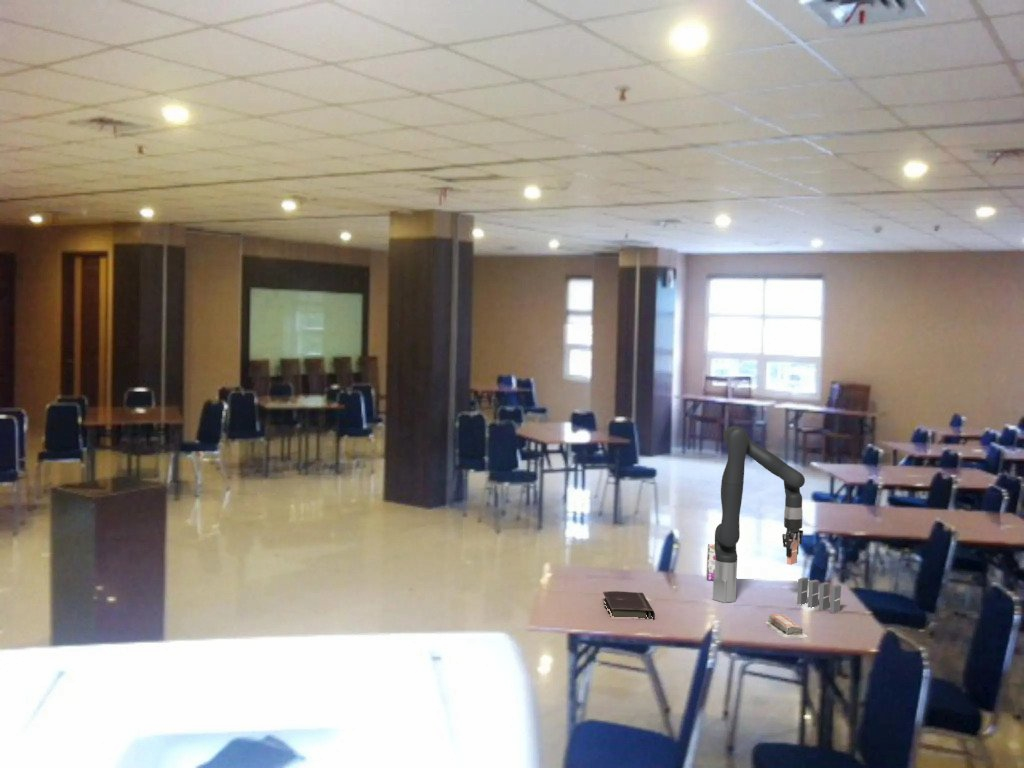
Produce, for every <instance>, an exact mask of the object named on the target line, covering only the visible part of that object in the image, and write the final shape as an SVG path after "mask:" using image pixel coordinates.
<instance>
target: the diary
mask: <svg viewBox="0 0 1024 768" xmlns="http://www.w3.org/2000/svg"><path fill="white" fill-rule="evenodd" d="M602 594H603V595H604V598H603V600H605V602H606V604H604V603H603V606H604V605H606V606H607V608H608V609H610V611H611V613H612V616H614V617H638V618H646V615H647V617H648V618H649V619H650V618H651V616H652V617H653V618H654V619H655V618H656V613H655V611H654V609H653V608H652V606H651V603H650V602H649V601H648V599H647V598H646V596H645V594H644V593H643V592H633V591H616V590H615V591H613V590H612V591H609V590H608V591H602ZM646 619H647V618H646Z"/></svg>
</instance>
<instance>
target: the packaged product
mask: <svg viewBox="0 0 1024 768" xmlns="http://www.w3.org/2000/svg"><path fill="white" fill-rule="evenodd" d="M765 624H766V625H767V626H766V625H765ZM764 625H765V626H766V627H768V628H769V627H770V628H771V629H772V630H773V631H772V630H771V629H770V628H769V629H770V630H771V631H772V632H774V631H775V632H776V633H778V634H779V635H780V636H782V637H783V638H797V639H806V638H805V637H808V635H807V634H805V632H803V630H804V629H803V627H801V626H800V625H799V624H797V623H796V622H795V621H793V620H792V619H790V618H789V617H788V616H787V615H785V614H782V613H780V614H779V613H773V614H770V615H769V616H768V621H766V620H765V621H764ZM775 632H774V633H775ZM776 633H775V634H776ZM778 634H777V635H778ZM779 635H778V636H779ZM780 636H779V637H780ZM782 637H781V638H782ZM783 638H782V639H783Z"/></svg>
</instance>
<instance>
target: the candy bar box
mask: <svg viewBox="0 0 1024 768" xmlns="http://www.w3.org/2000/svg"><path fill="white" fill-rule="evenodd" d="M706 559H707V560H706V575H705V576H706V577H707V578H706V577H705V578H706V581H712V582H713V581H714V578H715V543H707V556H706Z"/></svg>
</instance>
